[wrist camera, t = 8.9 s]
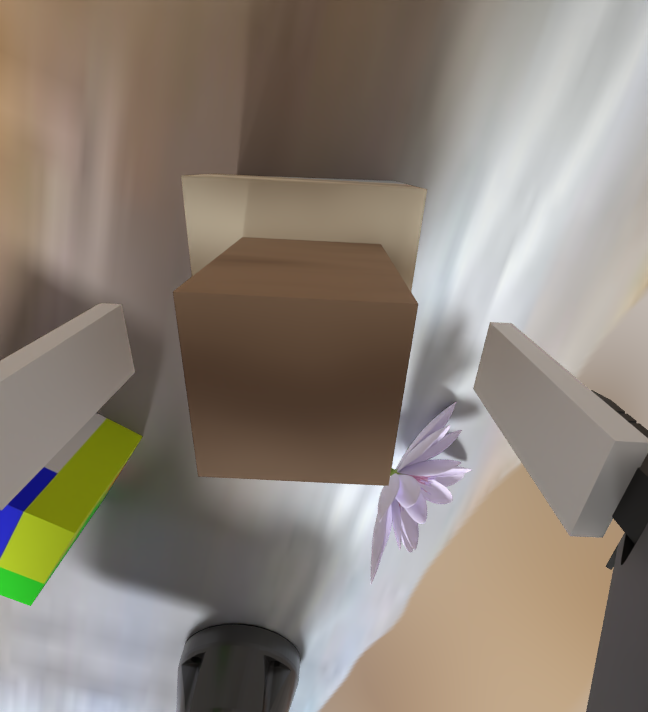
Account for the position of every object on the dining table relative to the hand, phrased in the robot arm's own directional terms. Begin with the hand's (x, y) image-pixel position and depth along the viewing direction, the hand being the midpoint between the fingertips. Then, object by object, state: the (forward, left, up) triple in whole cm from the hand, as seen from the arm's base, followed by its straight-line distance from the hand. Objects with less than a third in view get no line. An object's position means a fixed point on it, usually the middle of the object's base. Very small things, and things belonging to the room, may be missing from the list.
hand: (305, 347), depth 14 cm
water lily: (-17, -9, -14) cm, 24 cm away
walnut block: (0, 0, -4) cm, 4 cm away
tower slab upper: (0, 0, -9) cm, 9 cm away
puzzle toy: (-18, +22, -14) cm, 32 cm away
